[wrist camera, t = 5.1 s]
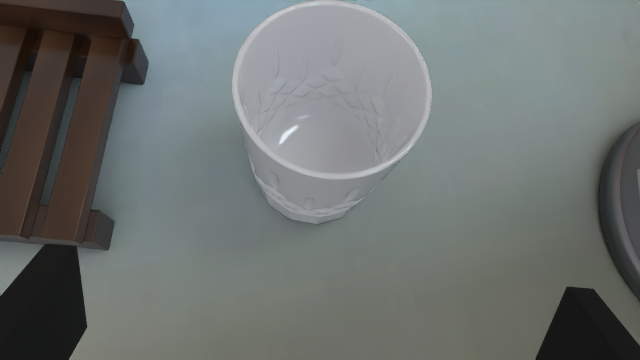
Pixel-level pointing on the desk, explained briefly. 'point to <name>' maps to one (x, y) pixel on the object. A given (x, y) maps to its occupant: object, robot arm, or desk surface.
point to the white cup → (327, 105)
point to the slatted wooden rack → (61, 113)
